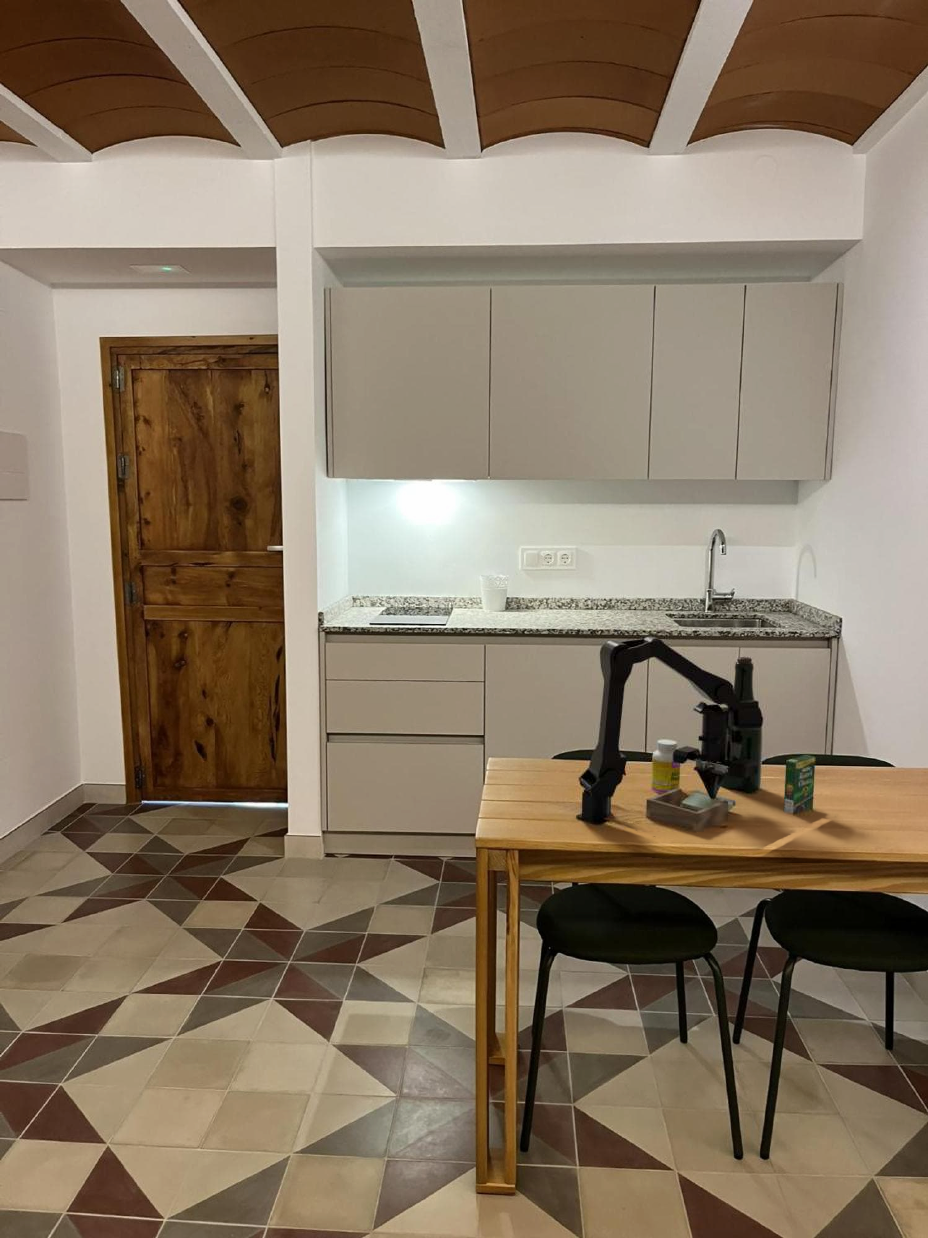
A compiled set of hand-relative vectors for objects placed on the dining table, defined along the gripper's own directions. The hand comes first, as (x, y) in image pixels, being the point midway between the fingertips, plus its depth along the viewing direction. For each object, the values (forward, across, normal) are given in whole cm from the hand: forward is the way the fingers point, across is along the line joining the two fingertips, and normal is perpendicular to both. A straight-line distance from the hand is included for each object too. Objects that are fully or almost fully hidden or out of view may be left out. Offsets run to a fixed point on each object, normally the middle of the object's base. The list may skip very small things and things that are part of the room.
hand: (712, 798), depth 207 cm
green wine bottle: (+4, +5, -20) cm, 21 cm away
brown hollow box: (+3, 0, +10) cm, 11 cm away
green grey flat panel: (+2, 0, +4) cm, 5 cm away
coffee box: (+4, -14, -14) cm, 20 cm away
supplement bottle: (+3, +15, -3) cm, 16 cm away
